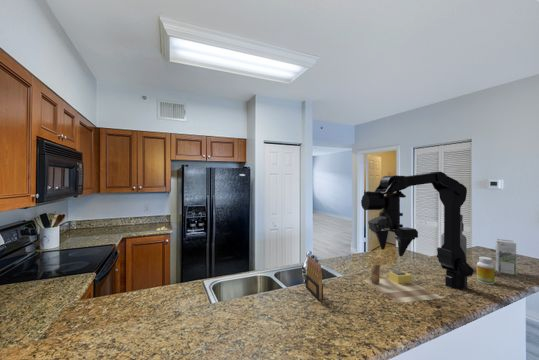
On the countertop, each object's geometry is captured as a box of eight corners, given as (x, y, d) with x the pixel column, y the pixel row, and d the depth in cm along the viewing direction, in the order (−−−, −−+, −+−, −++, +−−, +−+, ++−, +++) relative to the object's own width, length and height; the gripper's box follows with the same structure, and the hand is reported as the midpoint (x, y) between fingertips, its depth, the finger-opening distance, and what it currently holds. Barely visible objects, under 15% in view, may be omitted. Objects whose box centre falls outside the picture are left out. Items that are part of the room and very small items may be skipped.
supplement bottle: (495, 285, 96) (495, 260, 96) (477, 282, 99) (477, 258, 99) (493, 281, 100) (493, 257, 100) (476, 278, 103) (476, 255, 103)
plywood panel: (402, 279, 101) (402, 276, 101) (443, 301, 82) (443, 298, 82) (362, 282, 97) (362, 279, 97) (397, 306, 79) (397, 302, 79)
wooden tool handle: (376, 281, 96) (376, 263, 96) (381, 284, 93) (381, 265, 93) (369, 281, 95) (369, 263, 96) (374, 284, 93) (374, 266, 93)
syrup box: (512, 271, 112) (512, 239, 112) (516, 275, 107) (516, 242, 107) (495, 269, 115) (495, 238, 115) (498, 273, 110) (498, 240, 110)
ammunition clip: (323, 300, 82) (323, 264, 82) (318, 300, 81) (318, 264, 82) (310, 287, 92) (310, 255, 92) (305, 287, 92) (305, 255, 92)
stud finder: (401, 278, 100) (401, 269, 100) (411, 282, 95) (411, 273, 95) (388, 279, 98) (388, 270, 98) (397, 284, 94) (398, 274, 94)
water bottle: (444, 261, 125) (444, 206, 125) (468, 266, 118) (468, 208, 118) (438, 266, 118) (438, 208, 119) (464, 271, 111) (464, 209, 111)
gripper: (356, 207, 97) (357, 247, 97) (390, 213, 79) (390, 262, 78) (381, 207, 99) (381, 245, 99) (419, 212, 81) (419, 259, 81)
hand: (391, 252), depth 89 cm, fingers open, 9 cm apart
